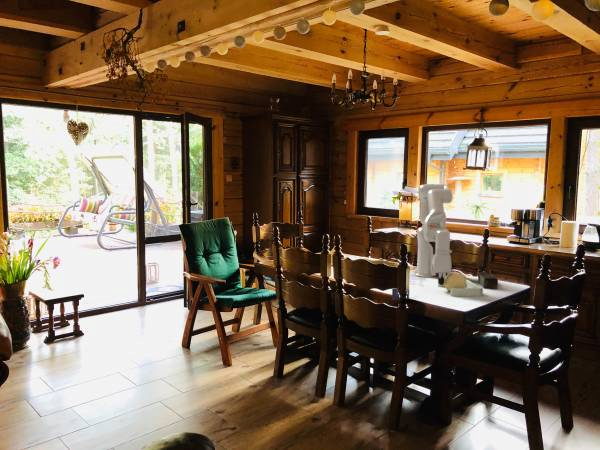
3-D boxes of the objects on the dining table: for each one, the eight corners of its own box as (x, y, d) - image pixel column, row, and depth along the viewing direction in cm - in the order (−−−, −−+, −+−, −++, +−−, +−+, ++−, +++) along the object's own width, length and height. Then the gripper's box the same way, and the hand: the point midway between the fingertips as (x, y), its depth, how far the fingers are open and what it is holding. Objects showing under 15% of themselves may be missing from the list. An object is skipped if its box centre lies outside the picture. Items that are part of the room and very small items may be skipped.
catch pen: (437, 286, 285) (438, 279, 284) (466, 286, 285) (466, 279, 285) (451, 296, 262) (451, 288, 262) (482, 295, 263) (482, 288, 263)
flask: (408, 298, 257) (408, 278, 256) (410, 299, 254) (410, 279, 253) (391, 298, 256) (391, 278, 255) (392, 300, 254) (393, 280, 252)
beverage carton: (491, 282, 297) (491, 271, 296) (498, 289, 278) (498, 278, 277) (477, 281, 298) (478, 271, 297) (483, 289, 279) (484, 277, 279)
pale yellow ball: (465, 289, 277) (466, 270, 276) (465, 294, 266) (465, 275, 265) (444, 287, 281) (445, 269, 280) (443, 292, 270) (444, 273, 268)
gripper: (453, 251, 275) (451, 283, 277) (427, 251, 274) (425, 283, 276) (457, 253, 267) (456, 286, 269) (430, 253, 267) (429, 286, 269)
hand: (441, 284), depth 273 cm, fingers closed
